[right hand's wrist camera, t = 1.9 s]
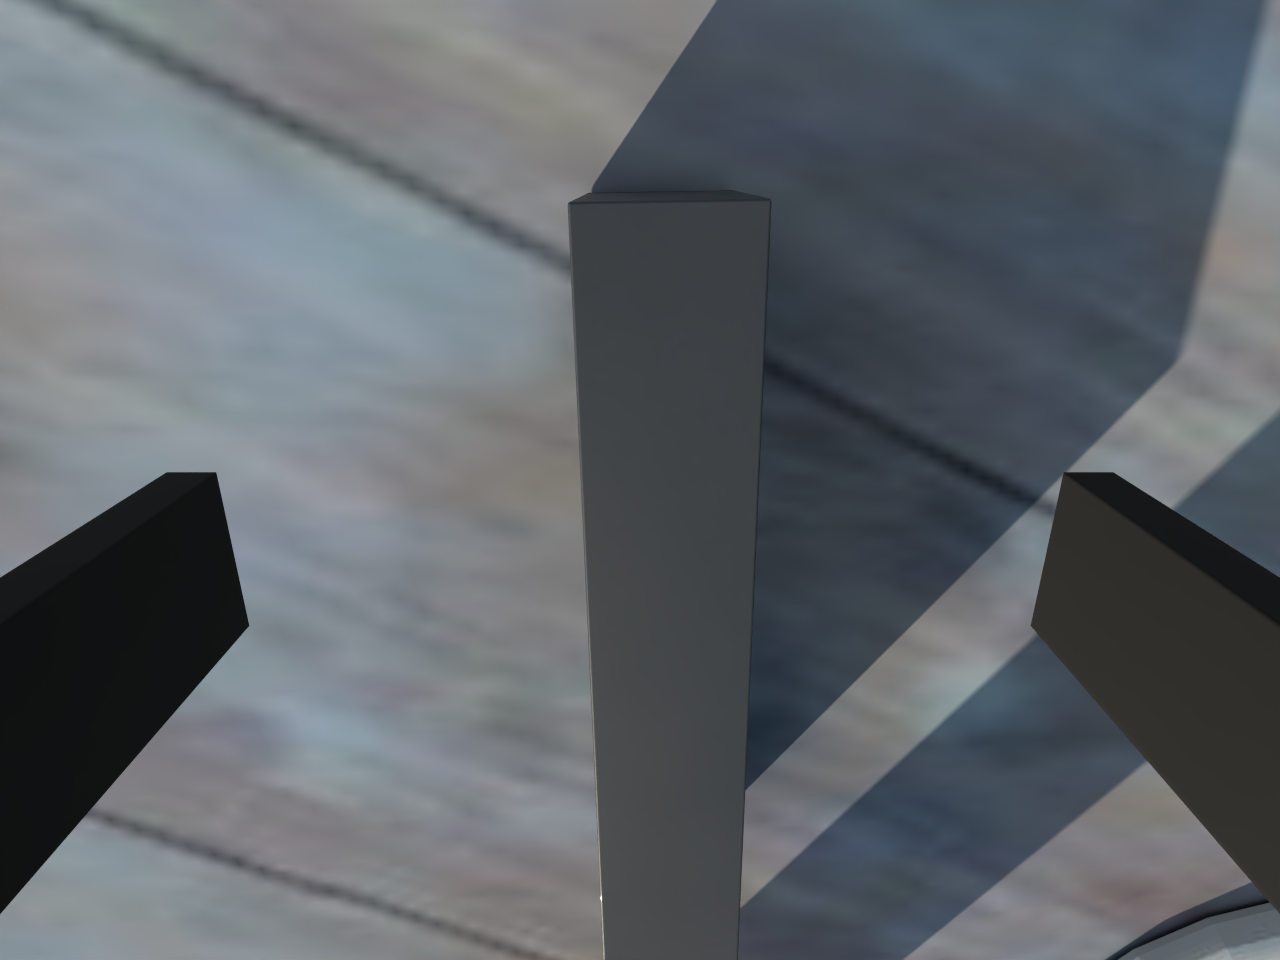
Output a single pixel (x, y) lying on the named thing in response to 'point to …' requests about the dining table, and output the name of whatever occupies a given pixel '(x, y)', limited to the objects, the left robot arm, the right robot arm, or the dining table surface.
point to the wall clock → (1220, 938)
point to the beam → (670, 549)
